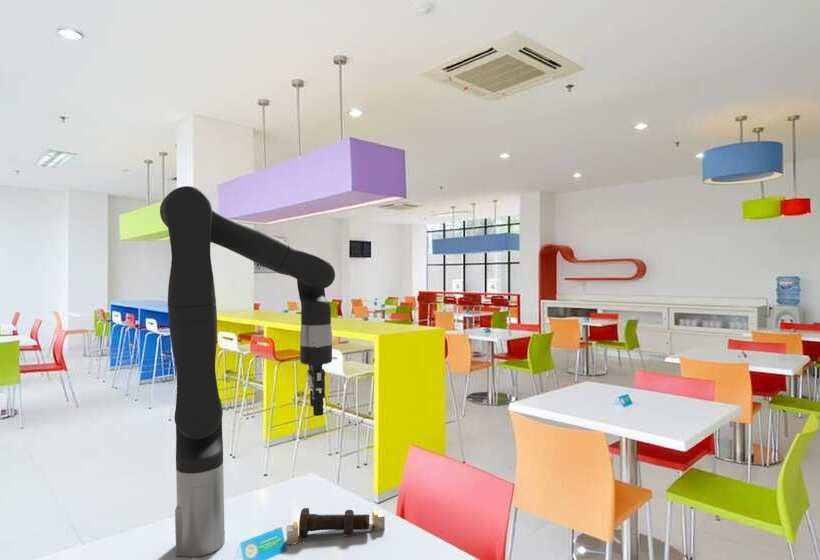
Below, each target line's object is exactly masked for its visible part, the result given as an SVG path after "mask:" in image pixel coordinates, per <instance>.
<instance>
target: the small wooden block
mask: <svg viewBox="0 0 820 560" xmlns="http://www.w3.org/2000/svg"><path fill="white" fill-rule="evenodd" d="M371 512H372V513H371V514H372V525H373V527H374V529H375V531H374V532H376V531H377V532H378V531H381V530H382V531H383V530H386V527H385V519H386V518H385V515H384V513H383V510H379V511H377V509H372V511H371Z"/></svg>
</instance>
